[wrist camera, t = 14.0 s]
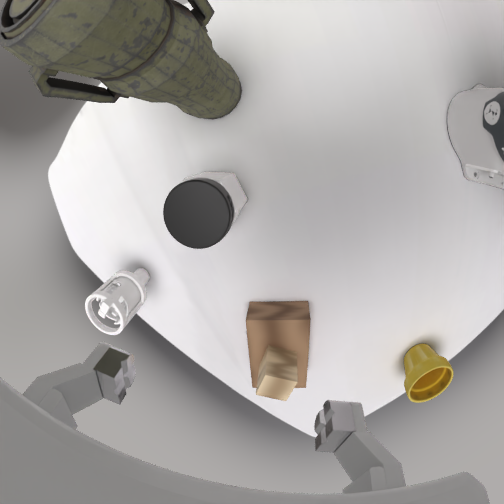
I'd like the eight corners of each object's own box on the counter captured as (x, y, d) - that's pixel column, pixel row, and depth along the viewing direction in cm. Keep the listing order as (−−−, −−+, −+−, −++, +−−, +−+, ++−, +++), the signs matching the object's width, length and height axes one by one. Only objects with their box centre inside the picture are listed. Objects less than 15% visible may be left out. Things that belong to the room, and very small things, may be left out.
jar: (225, 234, 44) (206, 265, 33) (183, 206, 43) (150, 227, 32) (257, 188, 41) (247, 203, 30) (212, 158, 40) (185, 163, 29)
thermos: (262, 83, 35) (186, -96, 3) (206, 138, 39) (-10, 138, 6) (221, 49, 34) (88, -100, 1) (168, 103, 37) (-42, 65, 5)
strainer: (165, 273, 48) (125, 320, 34) (150, 299, 50) (112, 346, 36) (134, 250, 47) (87, 288, 33) (121, 277, 49) (77, 318, 35)
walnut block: (307, 299, 47) (310, 319, 41) (304, 366, 53) (305, 387, 47) (250, 300, 48) (245, 320, 43) (255, 366, 54) (252, 387, 48)
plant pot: (391, 349, 49) (405, 382, 40) (434, 328, 46) (454, 357, 37) (398, 378, 52) (410, 409, 43) (438, 359, 49) (453, 388, 40)
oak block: (296, 352, 44) (297, 382, 38) (286, 371, 46) (285, 401, 39) (268, 345, 44) (265, 374, 38) (259, 365, 46) (255, 394, 39)
